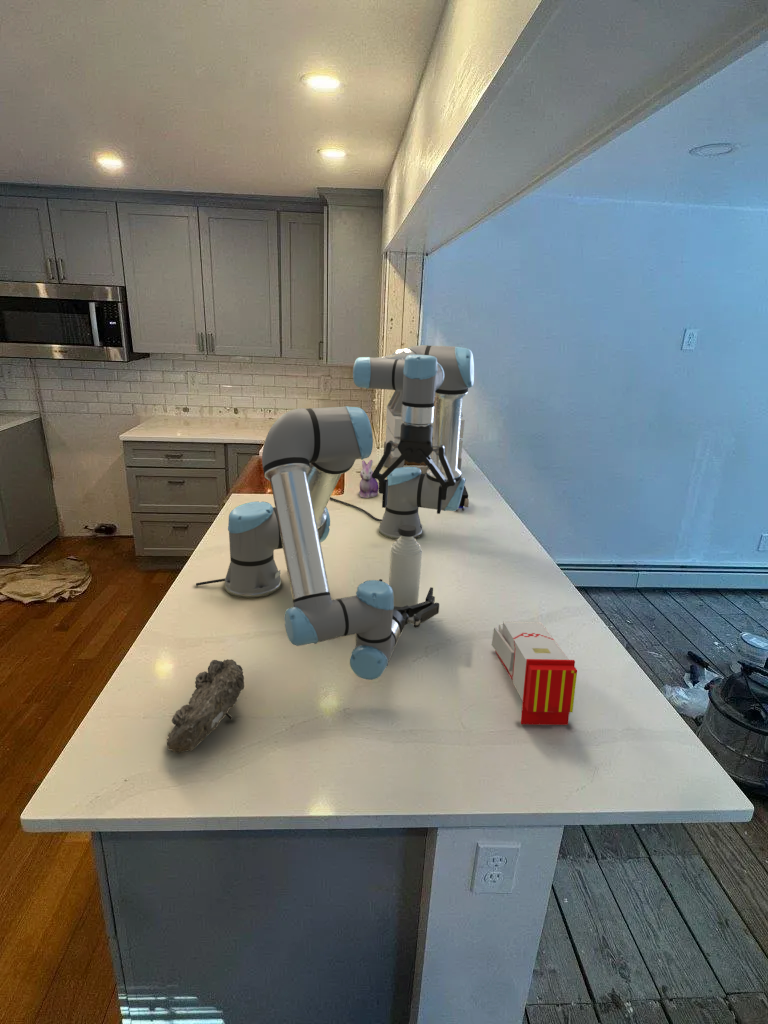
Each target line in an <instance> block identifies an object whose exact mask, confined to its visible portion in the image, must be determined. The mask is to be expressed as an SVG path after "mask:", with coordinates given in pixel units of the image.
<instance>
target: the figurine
mask: <svg viewBox="0 0 768 1024" xmlns="http://www.w3.org/2000/svg"><path fill="white" fill-rule="evenodd" d="M373 463H374V461H373V459H370V460H369V461H368V462H366V461H365V460H364V459H363V460H361V471H360V473H359V475H360V478H361V480H360V482H359V492H358V495H359V497H360V498H365V499H369V498H374V497H376V496H378V494H379V481H378V479H376V478H372V474H373V472H374V470H373V468H372V466H373Z"/></svg>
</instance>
